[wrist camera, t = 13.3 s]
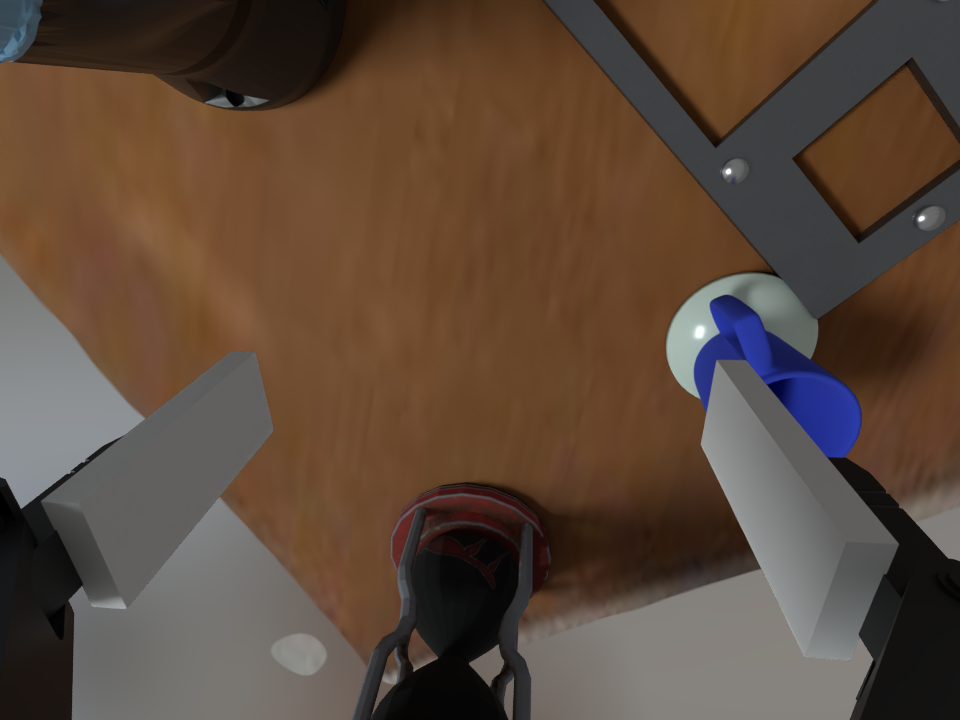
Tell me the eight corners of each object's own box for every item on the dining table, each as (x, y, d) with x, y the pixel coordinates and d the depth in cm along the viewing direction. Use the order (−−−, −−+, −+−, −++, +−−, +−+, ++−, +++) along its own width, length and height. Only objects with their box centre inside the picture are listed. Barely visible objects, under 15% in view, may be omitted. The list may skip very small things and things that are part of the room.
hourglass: (462, 621, 58) (414, 939, 36) (362, 529, 54) (236, 826, 32) (582, 562, 53) (615, 894, 30) (482, 454, 48) (433, 751, 26)
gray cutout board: (536, -6, 33) (536, -11, 32) (797, -324, 26) (810, -346, 25) (810, 315, 40) (819, 321, 39) (1072, 128, 33) (1093, 129, 32)
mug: (759, 249, 37) (829, 292, 28) (803, 384, 41) (876, 459, 32) (648, 297, 40) (680, 351, 31) (699, 420, 44) (741, 500, 35)
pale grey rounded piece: (636, 337, 42) (638, 341, 41) (757, 240, 38) (761, 243, 37) (720, 423, 45) (723, 428, 44) (842, 341, 40) (848, 345, 40)
